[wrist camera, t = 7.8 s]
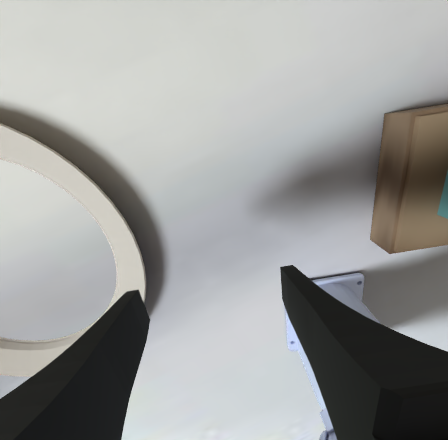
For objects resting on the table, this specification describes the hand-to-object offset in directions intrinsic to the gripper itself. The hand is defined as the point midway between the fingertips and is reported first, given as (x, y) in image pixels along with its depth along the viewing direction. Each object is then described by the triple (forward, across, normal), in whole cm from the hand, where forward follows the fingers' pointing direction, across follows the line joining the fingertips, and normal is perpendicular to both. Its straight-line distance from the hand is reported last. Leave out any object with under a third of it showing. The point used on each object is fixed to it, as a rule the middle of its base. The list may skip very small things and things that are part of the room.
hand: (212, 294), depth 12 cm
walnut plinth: (+9, -20, -1) cm, 22 cm away
